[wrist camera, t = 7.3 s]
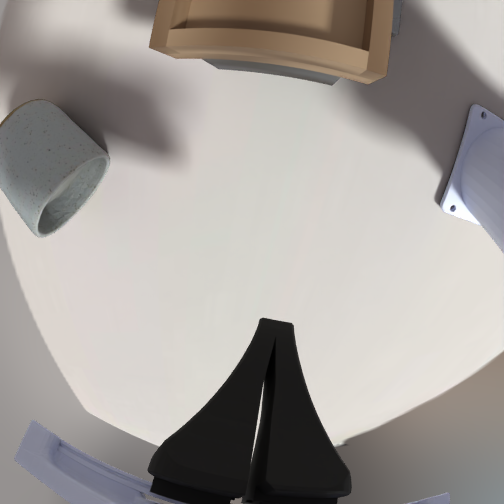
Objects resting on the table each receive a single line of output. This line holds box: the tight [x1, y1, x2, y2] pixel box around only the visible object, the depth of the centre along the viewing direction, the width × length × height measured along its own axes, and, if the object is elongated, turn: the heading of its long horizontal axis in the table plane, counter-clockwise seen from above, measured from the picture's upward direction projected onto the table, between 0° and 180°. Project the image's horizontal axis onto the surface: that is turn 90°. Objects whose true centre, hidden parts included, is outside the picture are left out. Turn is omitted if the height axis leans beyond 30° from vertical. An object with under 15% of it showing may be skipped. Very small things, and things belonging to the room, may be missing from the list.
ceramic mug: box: [0, 99, 110, 238], centre depth 16 cm, size 11×8×8 cm
